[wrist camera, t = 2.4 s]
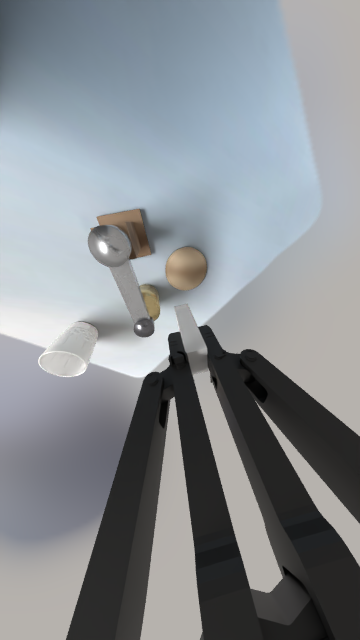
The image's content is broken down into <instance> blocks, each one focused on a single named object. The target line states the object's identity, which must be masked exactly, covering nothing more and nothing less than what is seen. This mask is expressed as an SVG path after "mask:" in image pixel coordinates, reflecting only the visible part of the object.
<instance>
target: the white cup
mask: <svg viewBox="0 0 360 640" xmlns="http://www.w3.org/2000/svg"><path fill="white" fill-rule="evenodd" d="M97 338H98V331H97V329H96V328H95V327H94V326H92V325H91V324H88V323H85V322H75V323H73V324H71V325H70V326H69V327H68V328H67V329H66V330H65V331H64V332H62V334H61V335H60V336H59V337H58V338H57V339H56V340H55V341H54V342H53V343H52V344H51V345H50V346H49V347H48V348H47V350H46V351H45V352H44V353H43V354H42V355H41V356H40V357H39V359H38V363H39V365H40V367H41V368H42V369H43V370H45V371H46V372H48V373H50V374H53V375H56V376H62V377H73V376H77V375H80V374H82V373H83V372H85V370H86V368H87V366H88V363H89V361H90V358H91V356H92V353H93V350H94V347H95V344H96V341H97Z"/></svg>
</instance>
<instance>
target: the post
mask: <svg viewBox="0 0 360 640" xmlns="http://www.w3.org/2000/svg"><path fill="white" fill-rule="evenodd" d="M97 220H98V222H99V225H100V226H101V225H114V226H117V227H119V228H121V229H122V230H123V231H124V232H125V233H126V234H127V235H128V237H129V239H130V241H131V245H132V251H131V254H130V256H129V258H130V260H131V259H136V258H138V257H143V256H147V255H151V251H150V247H149V244H148V240H147V236H146V232H145V228H144V224H143V220H142V216H141V213H140V209H135V210H130V211H125V212H120V213H114V214H109V215H104V216H98V217H97ZM90 229H91V231H92V229H94V228H90Z"/></svg>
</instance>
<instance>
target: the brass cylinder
mask: <svg viewBox="0 0 360 640" xmlns="http://www.w3.org/2000/svg"><path fill="white" fill-rule="evenodd" d="M139 287H140V290H141V292H142V295H143V298H144V301H145V304H146V307H147V309H148V312H149V315H150V316H151V317H152V318H153V320H154V321H155V320H156V319H157V318H158V317H159V315H160V305H159V294H158V291H157V290H156V289H155V288H154V287H153V286H151V285H147V284H144V285H140V286H139Z"/></svg>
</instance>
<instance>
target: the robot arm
mask: <svg viewBox="0 0 360 640" xmlns="http://www.w3.org/2000/svg"><path fill="white" fill-rule="evenodd" d="M174 309H175V313H176V318H177V323H178V327H179V331H180V332H176V333H171V334H169V337H168V342H169V350H170V355H169V362H170V365H169V367H168V368H167V369H166V370H164V371H162V372H161V373H159V372H151V373H150V374H148V375H147V376H146V377H145V379H144V381H143V384H142V388H141V391H140V394H139V397H138V401H137V404H136V407H135V411H134V414H133V417H132V421H131V424H130V427H129V431H128V434H127V438H126V441H125V444H124V447H123V451H122V454H121V458H120V461H119V464H118V467H117V471H116V474H115V478H114V481H113V484H112V488H111V491H110V495H109V498H108V501H107V505H106V508H105V511H104V514H103V518H102V521H101V525H100V528H99V531H98V534H97V538H96V541H95V544H94V548H93V551H92V555H91V558H90V561H89V564H88V568H87V571H86V575H85V578H84V581H83V585H82V588H81V591H80V595H79V598H78V601H77V605H76V608H75V611H74V615H73V618H72V621H71V625H70V628H69V631H68V635H67V638H66V640H140V636H141V630H142V623H143V616H144V609H145V603H146V594H147V586H148V577H149V570H150V562H151V552H152V544H153V537H154V529H155V520H156V512H157V504H158V495H159V488H160V480H161V471H162V463H163V455H164V447H165V439H166V430H167V422H168V414H169V406H170V399H171V398H173V397H175V402H176V409H177V417H178V425H179V431H180V440H181V447H182V455H183V463H184V470H185V478H186V486H187V493H188V501H189V509H190V517H191V524H192V532H193V540H194V548H195V562H196V576H197V588H198V597H199V605H200V613H201V621H202V629H203V632H202V635H201V638H200V640H360V567H359V565H358V563H357V562H356V560H355V558H354V557H353V555H352V554H351V552H350V551H349V549H348V547H347V546H346V544H345V543H344V541H343V540H342V538H341V537H340V536H339V534H338V533H337V532H336V530H335V529H334V528H333V527H332V526H331V525H330V524H329V523H328V522H327V520H326V519H325V518H324V517H323V516H322V515H321V513H320V512H319V511H318V509H317V508H316V506H315V504H314V503H313V501H312V499H311V498H310V496H309V494H308V492H307V491H306V489H305V487H304V485H303V484H302V482H301V480H300V478H299V477H298V475H297V473H296V471H295V470H294V468H293V466H292V464H291V463H290V461H289V459H288V458H287V456H286V454H285V452H284V451H283V449H282V447H281V445H280V444H279V442H278V440H277V438H276V437H275V435H274V433H273V431H272V430H271V428H270V426H269V424H268V423H267V421H266V419H265V417H264V416H263V414H262V413H261V410H260V409H259V407H258V405H257V403H258V404H259V406H260V407H261V408H262V409H263V410H264V412H265V413H266V414H267V415H268V416H269V417H270V419H271V420H272V421H273V422H274V423H275V424H276V425H277V427H278V428H279V429H280V430H281V432H282V433H283V434H284V435H285V436H286V437H287V439H288V440H289V441H290V442H291V443H292V444H293V446H294V447H295V448H296V449H297V450H298V452H299V453H300V454H301V455H302V456H303V457H304V459H305V460H306V461H307V462H308V463H309V465H310V466H311V467H312V468H313V469H314V470H315V472H316V473H317V474H318V475H319V476H320V477H321V479H322V480H323V481H324V482H325V483H326V484H327V486H328V487H329V488H330V489H331V490H332V491H333V493H334V494H335V495H336V496H337V497H338V499H339V500H340V501H341V502H342V503H343V505H344V506H345V507H346V508H347V509H348V510H349V512H350V513H351V514H352V515H353V516H354V517H355V519H356V520H357V521H358V522H359V523H360V436H358V435H357V434H356V433H355V432H354V431H352V430H351V429H350V428H349V427H348V426H346V425H345V424H344V423H343V422H342V421H340V420H339V419H338V418H336V417H335V416H334V415H333V414H332V413H331V412H329V411H328V410H327V409H326V408H325V407H323V406H322V405H321V404H320V403H318V402H317V401H316V400H315V399H314V398H312V397H311V396H310V395H309V394H308V393H306V392H305V391H304V390H303V389H302V388H300V387H299V386H298V385H297V384H296V383H294V382H293V381H292V380H291V379H289V378H288V377H287V376H286V375H284V374H283V373H282V372H281V371H280V370H279V369H277V368H276V367H275V366H274V365H273V364H271V363H270V362H269V361H268V360H266V359H265V358H264V357H263V356H262V355H260V354H259V353H258V352H256V351H254V350H251V349H246V350H243V351H242V352H241V354H233V353H228V352H226V351H225V350H223V349H222V347H221V346H220V344H219V342H218V341H217V339H216V337H215V335H214V333H213V332H212V330H211V328H210V327H209V326H207V325H205V326H200V327H198V326H197V324H196V322H195V319H194V317H193V315H192V312H191V310H190V308H189V306H188V304H184V305H179V306H175V307H174ZM208 368H209V371H210V378H211V383H212V382H213V385H214V388H215V390H216V393H217V396H218V398H219V401H220V404H221V406H222V409H223V411H224V414H225V417H226V420H227V422H228V425H229V428H230V430H231V433H232V436H233V438H234V441H235V444H236V446H237V449H238V452H239V454H240V457H241V460H242V462H243V465H244V468H245V471H246V473H247V476H248V479H249V481H250V484H251V486H252V489H253V492H254V495H255V497H256V500H257V502H258V505H259V508H260V511H261V513H262V516H263V519H264V523H265V528H266V531H267V535H268V538H269V540H270V544H271V546H272V549H273V552H274V555H275V557H276V560H277V563H278V566H279V568H280V571H281V574H282V576H283V579H282V580H281V581H280V582H279V584H278V585H277V586H276V587H275V588H274V589H273V591H271V592H270V593H265V592H261V591H257V590H253V589H250V586H249V583H248V579H247V576H246V572H245V568H244V565H243V561H242V558H241V554H240V551H239V547H238V544H237V541H236V537H235V534H234V530H233V526H232V522H231V519H230V515H229V511H228V507H227V504H226V500H225V496H224V492H223V489H222V485H221V481H220V478H219V473H218V470H217V466H216V462H215V458H214V455H213V451H212V448H211V443H210V440H209V436H208V432H207V428H206V424H205V421H204V417H203V413H202V409H201V406H200V402H199V398H198V395H197V391H196V387H195V383H194V379H193V375H194V374H198V373H202V372H206V371H208ZM255 401H256V402H257V403H256V402H255Z"/></svg>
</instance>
